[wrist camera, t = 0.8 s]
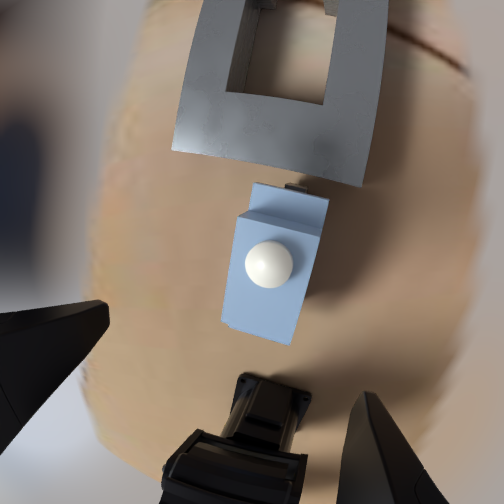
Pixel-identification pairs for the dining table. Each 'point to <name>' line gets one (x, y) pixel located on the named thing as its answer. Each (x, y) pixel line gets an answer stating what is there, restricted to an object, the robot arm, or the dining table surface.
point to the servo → (273, 260)
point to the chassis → (279, 109)
